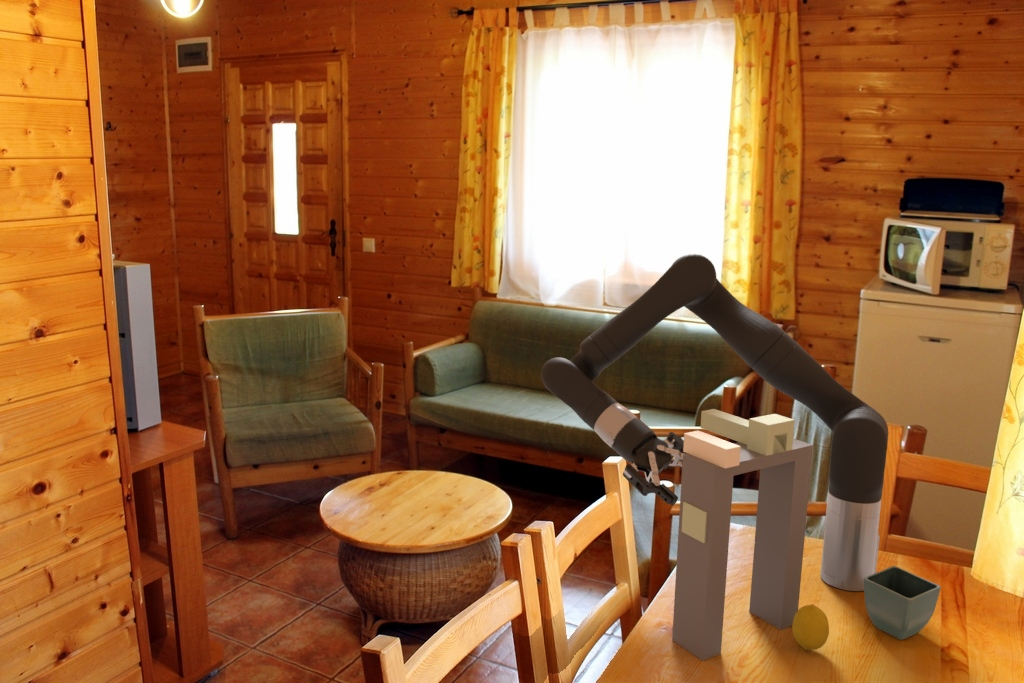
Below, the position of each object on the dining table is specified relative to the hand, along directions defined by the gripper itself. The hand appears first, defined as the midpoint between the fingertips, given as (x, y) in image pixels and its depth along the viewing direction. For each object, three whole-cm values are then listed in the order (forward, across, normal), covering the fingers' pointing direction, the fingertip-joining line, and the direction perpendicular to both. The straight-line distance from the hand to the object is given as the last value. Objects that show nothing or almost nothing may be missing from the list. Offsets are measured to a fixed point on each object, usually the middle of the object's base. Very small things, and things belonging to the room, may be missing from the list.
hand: (690, 489), depth 150 cm
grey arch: (+21, +10, -8) cm, 25 cm away
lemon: (+31, +6, -4) cm, 32 cm away
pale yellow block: (+3, -3, +16) cm, 16 cm away
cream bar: (+3, +9, +20) cm, 22 cm away
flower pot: (+39, -10, -5) cm, 41 cm away
